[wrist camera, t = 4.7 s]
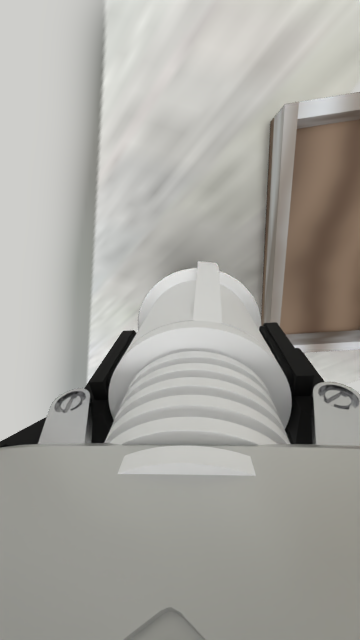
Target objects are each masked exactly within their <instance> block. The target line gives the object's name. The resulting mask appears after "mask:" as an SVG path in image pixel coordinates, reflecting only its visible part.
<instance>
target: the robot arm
mask: <svg viewBox="0 0 360 640" xmlns="http://www.w3.org/2000/svg"><path fill="white" fill-rule="evenodd" d="M259 331H260V333H261V335H262V336H263V338H264V340H265V342H266V343H267V345H268V347H269V348H270V350H271V352H272V354H273V355H274V357H275V359H276V361H277V362H278V364H279V365H280V367H281V369H282V371H283V372H284V374H285V376H286V378H287V381H288V383H289V387H290V391H291V397H292V408H291V414H290V418H289V421H288V423H287V426H286V428H285V432H286V434H287V437H288V439H289V442H290V444H268V445H184V446H204V447H213V448H219V449H225V450H229V451H233V452H238V453H241V454H244V455H248V456H250V457H251V460H252V464H253V467H254V471H255V474H256V476H238V475H176V474H118V471H119V469H120V466H121V463H122V461H123V458H124V456H125V455H128V454H131V453H134V452H137V451H141V450H146V449H150V448H156V447H164V446H180V445H120V444H112V443H104V442H105V440H106V438H107V435H108V433H109V432H110V429H111V426H112V424H113V422H114V420H113V417H112V414H111V411H110V407H109V399H108V395H109V385H110V381H111V378H112V375H113V373H114V371H115V369H116V367H117V365H118V364H119V362H120V360H121V359H122V357H123V355H124V354H125V352H126V350H127V349H128V347H129V345H130V344H131V342H132V340H133V339H134V337H135V335H136V334H137V333H135V331H134V330H133V331H123V332H122V333H121V335H120V336H119V338H118V339H117V341H116V342H115V344H114V345H113V347H112V348H111V350H110V351H109V352H108V354H107V355H106V357H105V358H104V360H103V361H102V363H101V364H100V366H99V367H98V369H97V370H96V372H95V373H94V375H93V376H92V378H91V379H90V381H89V382H88V384H87V385H86V387H85V388H84V389H83V388H77V389H72V390H70V391H67V392H65V393H63V394H61V395H60V396H59V397H57V398H56V399H55V400H54V401H53V402H52V404H51V406H50V409H49V412H48V415H47V417H46V418H44V419H42V420H40V421H38V422H36V423H34V424H33V425H31V426H29V427H27V428H25V429H23V430H21V431H19V432H18V433H16V434H14V435H12V436H10V437H8V438H7V439H5V440H2V441H1V442H0V640H360V394H359V393H358V392H357V391H355V390H354V389H352V388H350V387H348V386H346V385H343V384H340V383H336V382H324V380H323V379H322V378H321V376H320V375H319V374H318V372H317V371H316V370H315V368H314V367H313V365H312V364H311V363H310V361H309V360H308V359H307V357H306V356H305V355H304V353H303V352H302V351H301V349H300V348H295V347H294V346H293V345H292V343H291V342H290V340H289V339H288V338H287V336H286V335H285V333H284V332H283V330H282V329H281V328H280V326H279V325H278V323H277V322H272V323H264V324H263V326H260V327H259Z"/></svg>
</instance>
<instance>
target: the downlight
mask: <svg viewBox="0 0 360 640" xmlns="http://www.w3.org/2000/svg"><path fill="white" fill-rule="evenodd" d="M260 326H261V316H260V311H259V308H258V305H257V303H256V301H255V299H254V297H253V296H252V294H251V293H250V292H249V290H248V289H247V288H246V287H245V286H244V285H243V284H242V283H241V282H240V281H238V280H237V279H236V278H234V277H232V276H231V275H229V274H226V273H224V272H221V271H219V266H218V265H217V263H213V262H202V261H198V267H197V268H189V269H184V270H180V271H177V272H175V273H172V274H170V275H168V276H166V277H165V278H163V279H162V280H160V281H159V282H158V283H157V284H156V285H155V286H154V287H153V288H152V289H151V290H150V291H149V293H148V294H147V296H146V297H145V299H144V301H143V303H142V305H141V308H140V311H139V316H138V332H137V334H136V335H135V337H134V339H133V340H132V342H131V344H130V345H129V347H128V349H127V350H126V352H125V354H124V355H123V357H122V359H121V360H120V362H119V364H118V365H117V367H116V369H115V371H114V373H113V375H112V378H111V381H110V385H109V395H108V399H109V407H110V411H111V414H112V417H113V420H114V422H113V424H112V426H111V429H110V432H109V433H108V435H107V438H106V440H105V442H104V443H112V444H120V445H180V446H164V447H156V448H150V449H146V450H141V451H137V452H134V453H131V454H128V455H125V456H124V458H123V461H122V463H121V466H120V469H119V471H118V474H176V475H238V476H256V474H255V471H254V467H253V464H252V460H251V457H250V456H248V455H244V454H241V453H238V452H233V451H229V450H225V449H219V448H213V447H204V446H184V445H268V444H290V442H289V439H288V437H287V434H286V432H285V428H286V426H287V423H288V421H289V418H290V414H291V408H292V397H291V391H290V387H289V383H288V381H287V378H286V376H285V374H284V372H283V371H282V369H281V367H280V365H279V364H278V362H277V361H276V359H275V357H274V355H273V354H272V352H271V350H270V348H269V347H268V345H267V343H266V342H265V340H264V338H263V336H262V335H261V333H260V331H259V327H260Z"/></svg>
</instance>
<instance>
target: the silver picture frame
mask: <svg viewBox="0 0 360 640" xmlns="http://www.w3.org/2000/svg"><path fill="white" fill-rule="evenodd" d="M272 322H277V323H278V325H279V326H280V328H281V329H282V330H283V332H284V333H285V335H286V336H287V338H288V339H289V340H290V342H291V343H292V345H293V346H294V347H295V348H300V349H301V351H302V352H320V351H339V350H357V349H360V92H357V93H351V94H344V95H338V96H332V97H326V98H319V99H313V100H307V101H301V102H295V103H288V104H285V105H284V106H283V107H282V108H281V110H280V111H279V112H278V113H277V115H276V116H275V117H274V118H273V120H272V121H271V124H270V145H269V167H268V188H267V209H266V230H265V251H264V272H263V294H262V315H261V326H263V324H264V323H272Z"/></svg>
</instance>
